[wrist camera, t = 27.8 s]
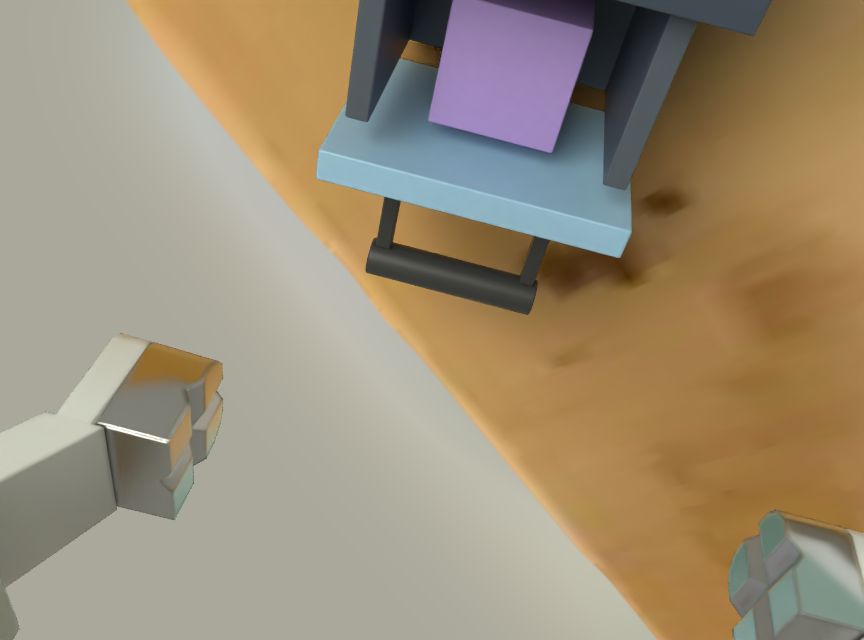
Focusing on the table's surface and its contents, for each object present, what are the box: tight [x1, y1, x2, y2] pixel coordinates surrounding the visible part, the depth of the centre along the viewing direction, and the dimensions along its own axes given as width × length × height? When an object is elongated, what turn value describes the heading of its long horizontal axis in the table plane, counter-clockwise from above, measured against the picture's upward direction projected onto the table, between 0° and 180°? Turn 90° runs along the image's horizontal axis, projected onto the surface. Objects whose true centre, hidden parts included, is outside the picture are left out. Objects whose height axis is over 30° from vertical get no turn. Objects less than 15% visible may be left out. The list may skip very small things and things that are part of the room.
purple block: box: [428, 0, 595, 153], centre depth 28 cm, size 4×4×5 cm
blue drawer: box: [316, 0, 698, 315], centre depth 28 cm, size 19×11×8 cm, turn 169°
